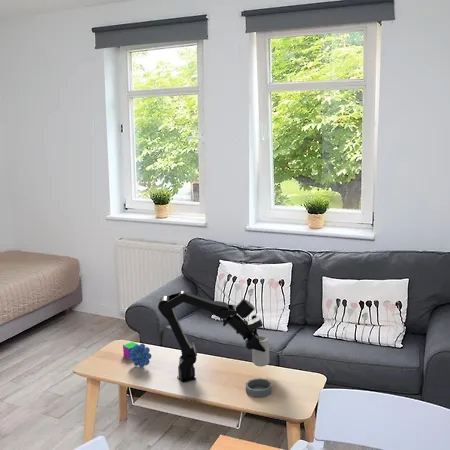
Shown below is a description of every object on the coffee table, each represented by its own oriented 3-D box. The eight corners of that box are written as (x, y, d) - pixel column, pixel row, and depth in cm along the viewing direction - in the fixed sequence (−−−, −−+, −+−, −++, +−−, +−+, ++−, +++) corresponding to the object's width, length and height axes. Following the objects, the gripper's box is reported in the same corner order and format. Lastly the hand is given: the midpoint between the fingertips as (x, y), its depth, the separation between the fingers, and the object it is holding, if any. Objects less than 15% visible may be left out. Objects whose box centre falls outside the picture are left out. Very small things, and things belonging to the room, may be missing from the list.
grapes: (157, 365, 265) (155, 341, 262) (149, 371, 259) (147, 347, 256) (136, 361, 270) (134, 338, 267) (128, 367, 264) (126, 343, 261)
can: (272, 362, 253) (272, 337, 250) (264, 368, 247) (264, 343, 244) (257, 358, 257) (257, 333, 254) (249, 364, 251) (249, 339, 248)
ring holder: (255, 400, 231) (254, 393, 231) (241, 389, 240) (240, 382, 240) (276, 392, 237) (276, 386, 236) (262, 382, 246) (262, 376, 245)
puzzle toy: (139, 356, 276) (139, 345, 275) (129, 359, 272) (128, 348, 271) (133, 352, 280) (132, 341, 279) (123, 356, 277) (122, 345, 275)
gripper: (253, 319, 237) (279, 343, 240) (249, 304, 256) (274, 327, 258) (235, 338, 239) (261, 361, 241) (232, 321, 257) (257, 343, 260)
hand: (263, 347), depth 250 cm, fingers closed on can, 7 cm apart
